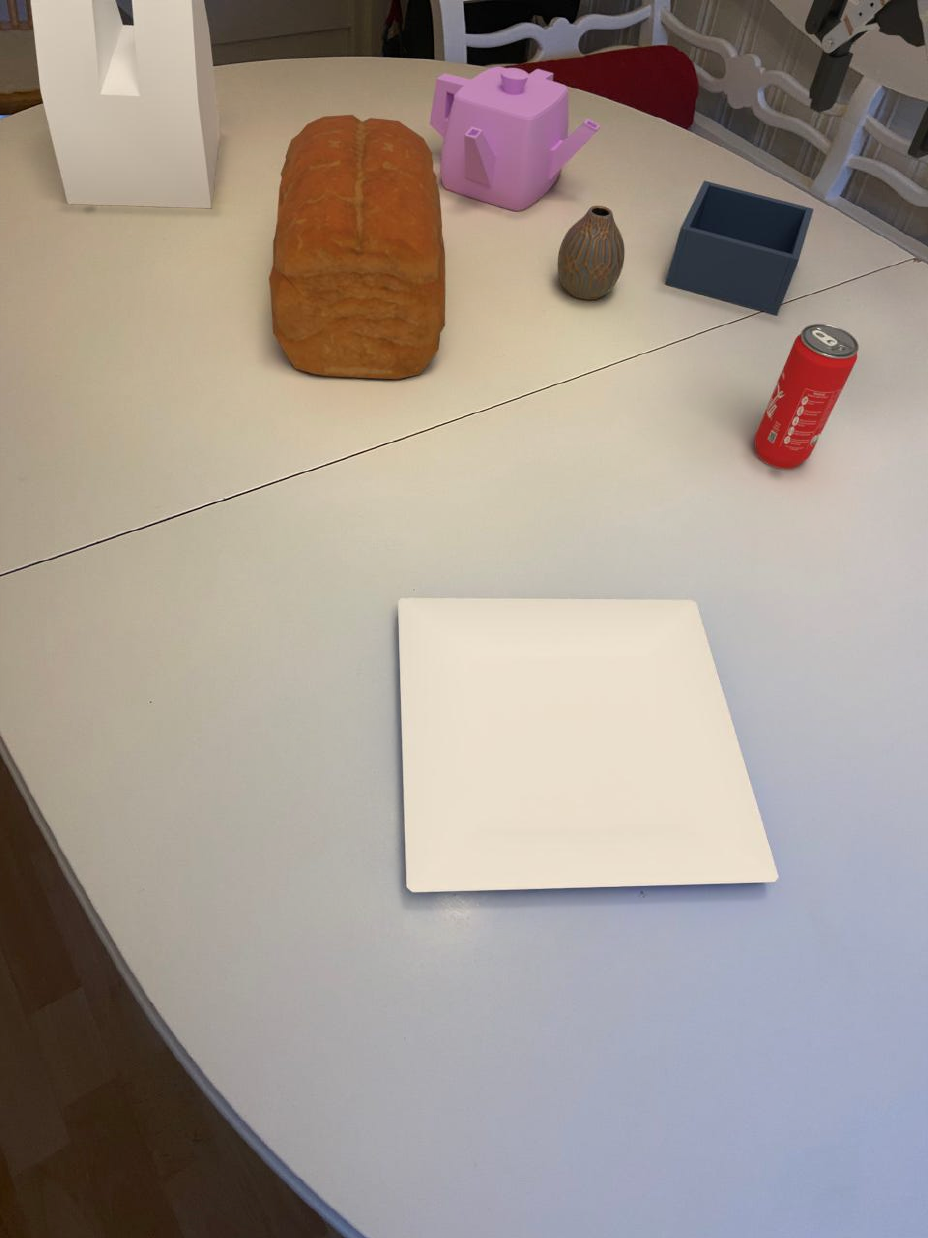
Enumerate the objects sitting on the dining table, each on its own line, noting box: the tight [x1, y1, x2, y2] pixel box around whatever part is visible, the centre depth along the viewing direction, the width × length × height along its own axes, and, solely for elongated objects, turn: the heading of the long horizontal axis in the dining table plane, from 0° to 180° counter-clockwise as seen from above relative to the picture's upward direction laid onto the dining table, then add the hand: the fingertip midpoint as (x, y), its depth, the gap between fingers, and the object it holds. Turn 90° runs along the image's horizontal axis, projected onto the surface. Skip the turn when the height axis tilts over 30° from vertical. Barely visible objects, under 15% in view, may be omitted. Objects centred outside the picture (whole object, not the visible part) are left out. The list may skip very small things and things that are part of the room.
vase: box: [556, 205, 626, 301], centre depth 97 cm, size 7×7×9 cm
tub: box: [664, 180, 814, 316], centre depth 103 cm, size 13×13×6 cm
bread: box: [268, 114, 446, 380], centre depth 89 cm, size 16×27×16 cm, turn 3°
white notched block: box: [30, 0, 221, 209], centre depth 100 cm, size 19×15×25 cm
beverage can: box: [754, 323, 859, 470], centre depth 80 cm, size 5×5×12 cm
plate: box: [397, 597, 780, 893], centre depth 62 cm, size 22×22×2 cm
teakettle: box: [429, 65, 601, 212], centre depth 110 cm, size 17×17×12 cm
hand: (867, 131), depth 67 cm, fingers open, 8 cm apart
